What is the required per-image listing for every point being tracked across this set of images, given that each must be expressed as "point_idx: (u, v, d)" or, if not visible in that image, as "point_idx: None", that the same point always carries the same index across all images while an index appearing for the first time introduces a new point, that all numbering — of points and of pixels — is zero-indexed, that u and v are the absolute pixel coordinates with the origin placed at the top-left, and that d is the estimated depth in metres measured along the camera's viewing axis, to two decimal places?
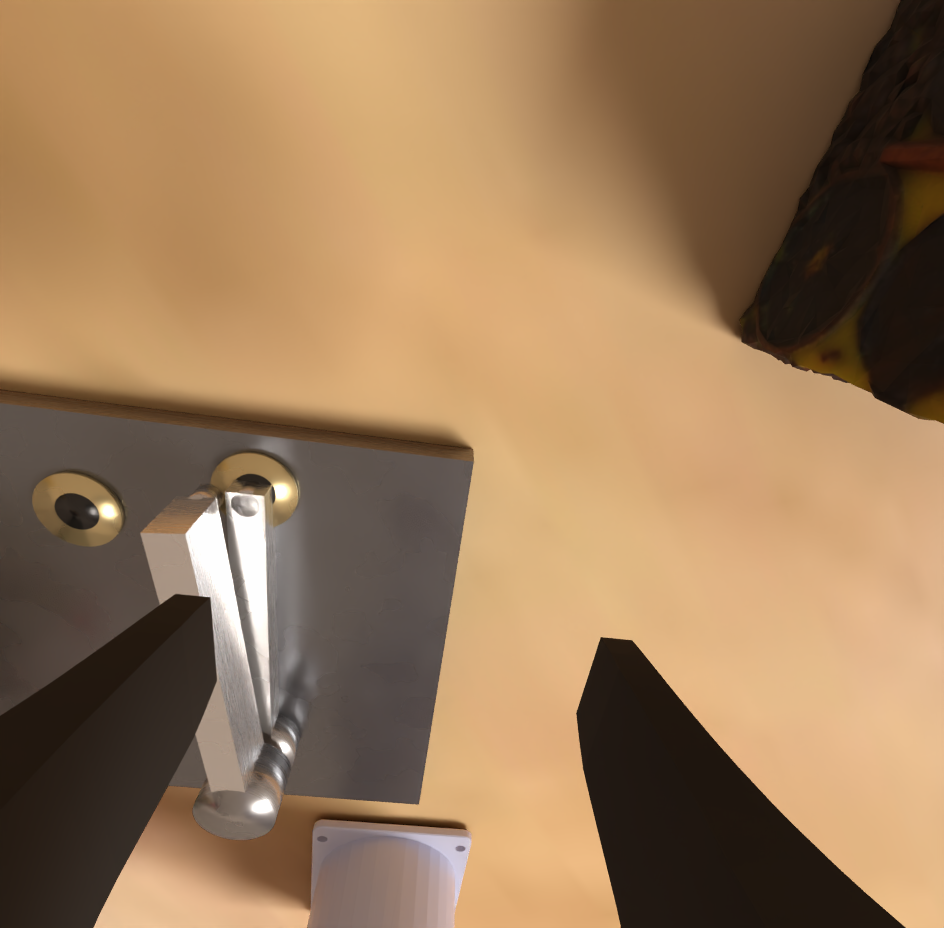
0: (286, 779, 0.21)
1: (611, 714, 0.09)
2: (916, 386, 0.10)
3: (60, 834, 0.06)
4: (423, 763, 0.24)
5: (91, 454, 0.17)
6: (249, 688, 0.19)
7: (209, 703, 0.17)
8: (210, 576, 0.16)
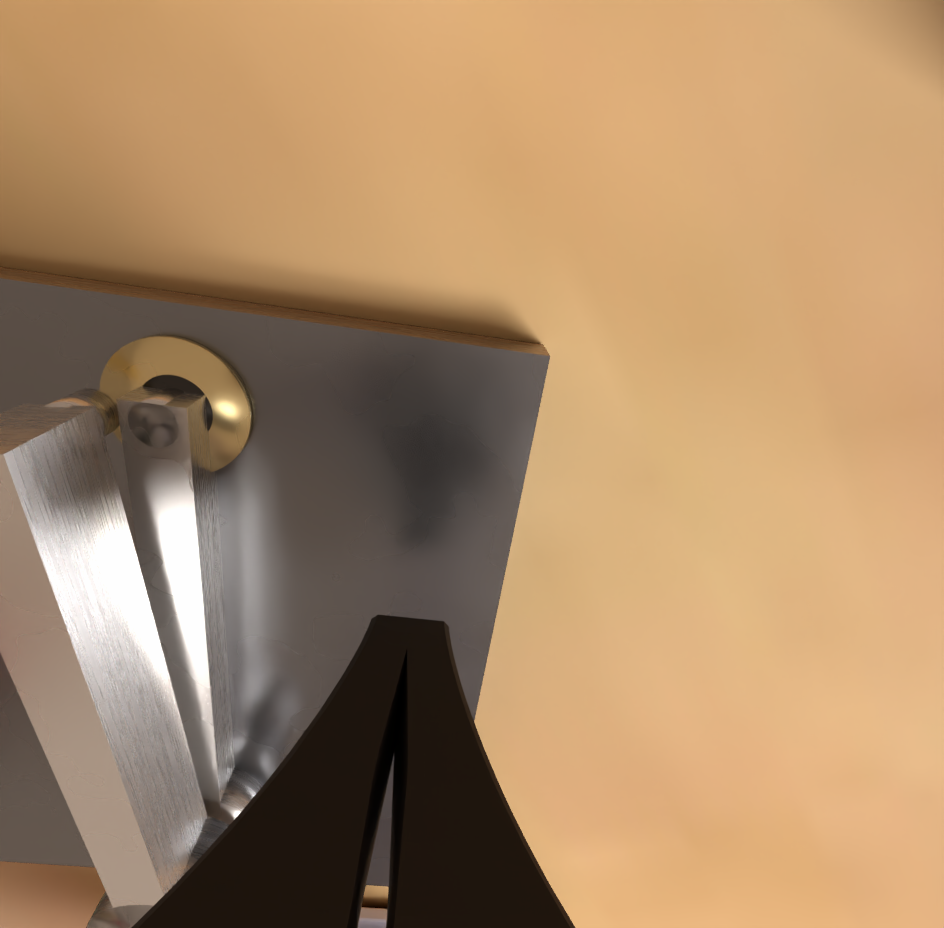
0: None
1: (402, 695, 0.09)
2: None
3: (363, 855, 0.06)
4: None
5: None
6: (178, 738, 0.12)
7: (92, 772, 0.10)
8: (81, 546, 0.09)
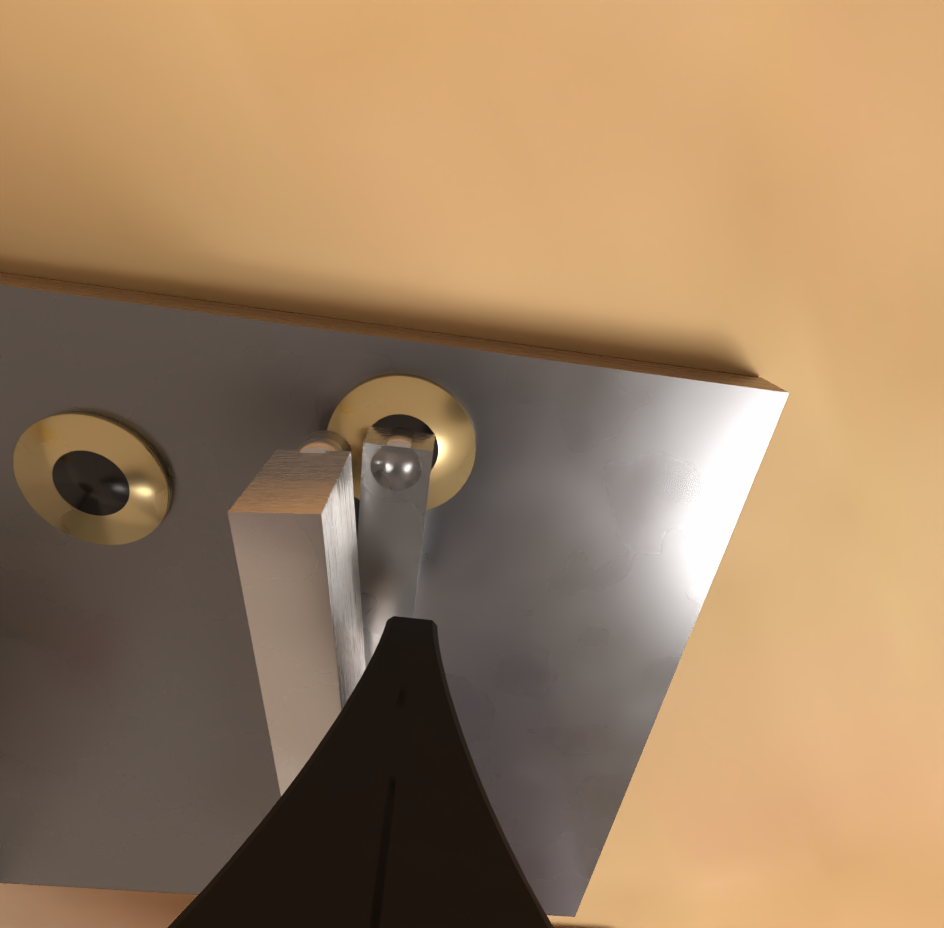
0: None
1: None
2: None
3: None
4: (593, 864, 0.16)
5: (118, 379, 0.10)
6: None
7: None
8: (344, 598, 0.08)
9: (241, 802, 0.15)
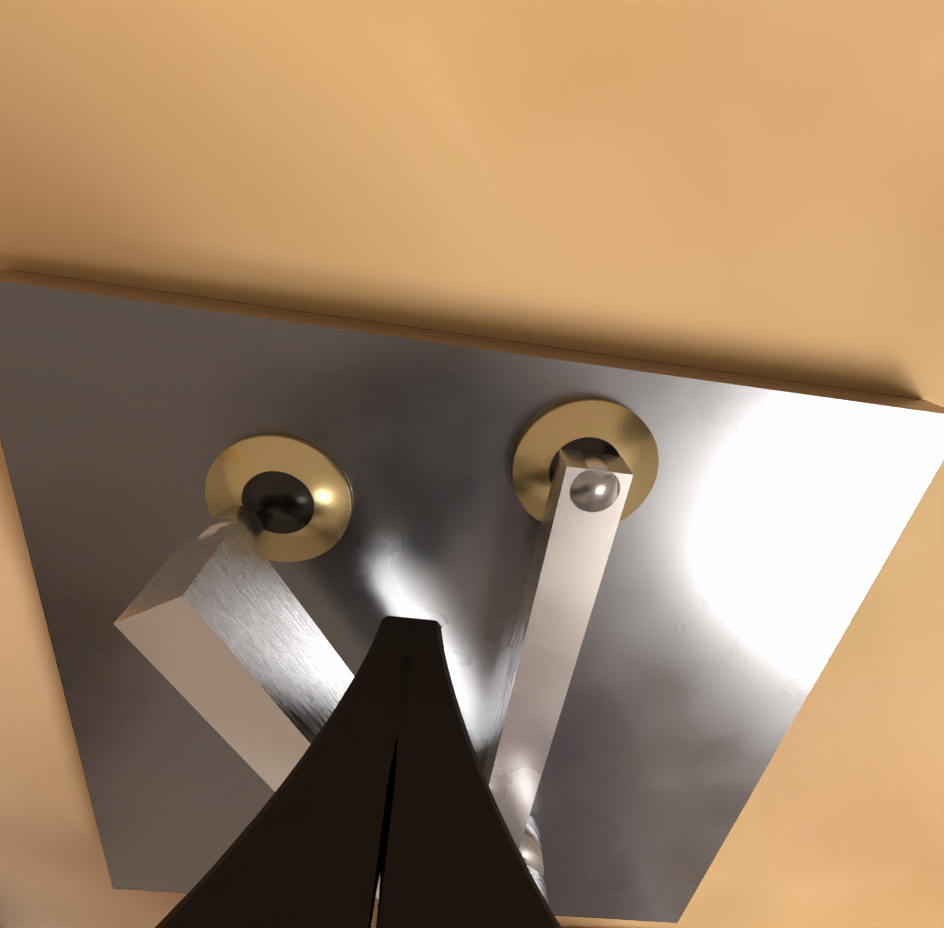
0: None
1: None
2: None
3: (378, 856, 0.06)
4: (703, 871, 0.16)
5: (317, 402, 0.10)
6: None
7: None
8: (280, 652, 0.09)
9: None
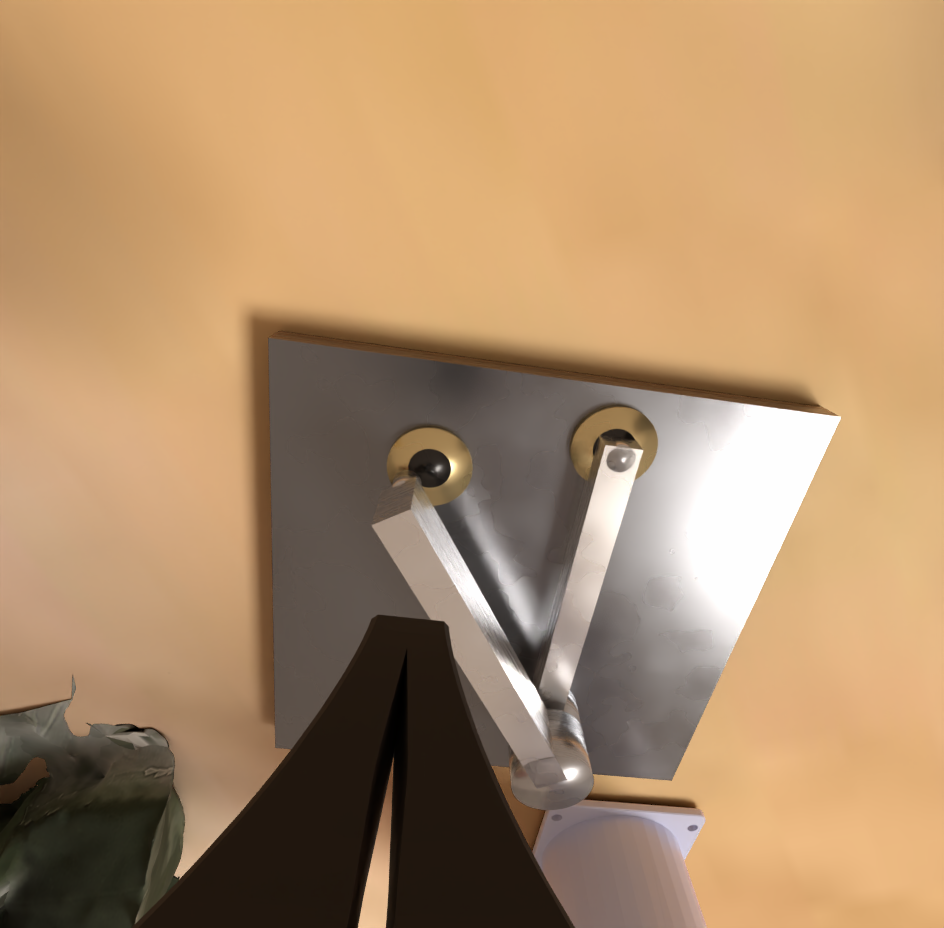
0: (583, 737, 0.20)
1: (402, 695, 0.09)
2: None
3: (363, 855, 0.06)
4: (689, 737, 0.23)
5: (458, 408, 0.17)
6: (515, 656, 0.19)
7: (490, 675, 0.17)
8: (443, 549, 0.16)
9: None
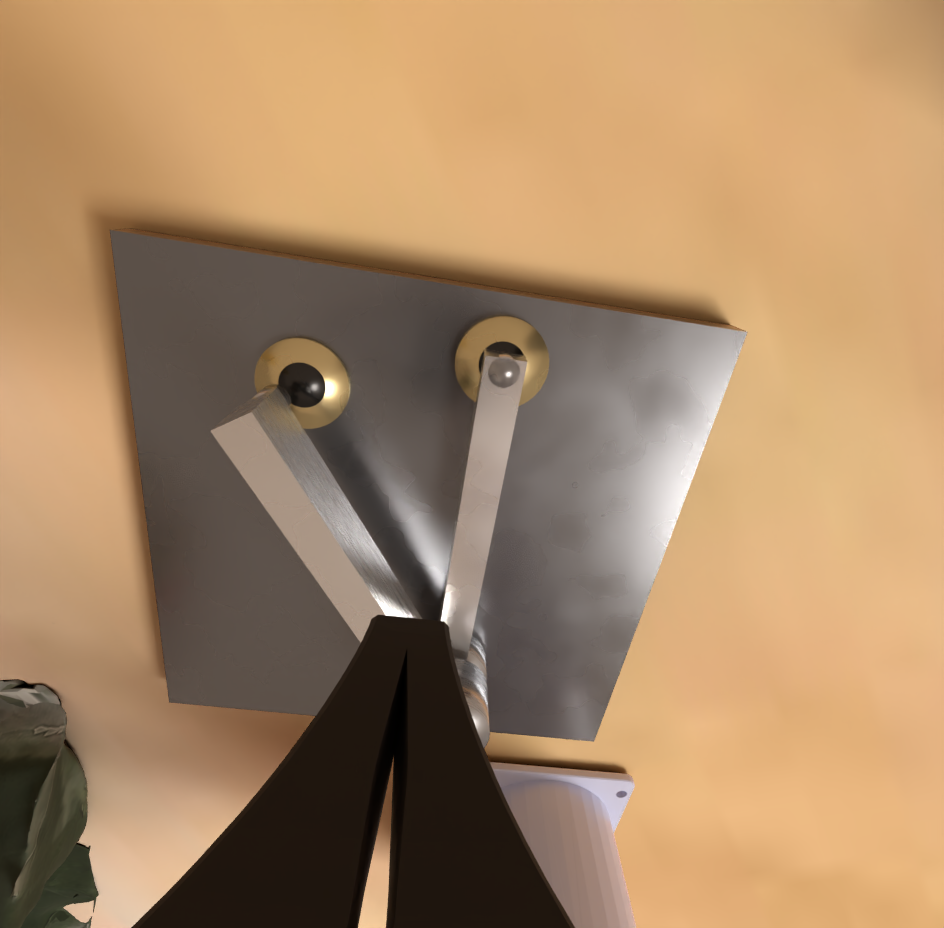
0: (484, 687, 0.19)
1: (402, 695, 0.09)
2: None
3: (363, 855, 0.06)
4: (609, 693, 0.22)
5: (328, 316, 0.15)
6: (404, 596, 0.18)
7: (363, 609, 0.16)
8: (303, 465, 0.14)
9: None
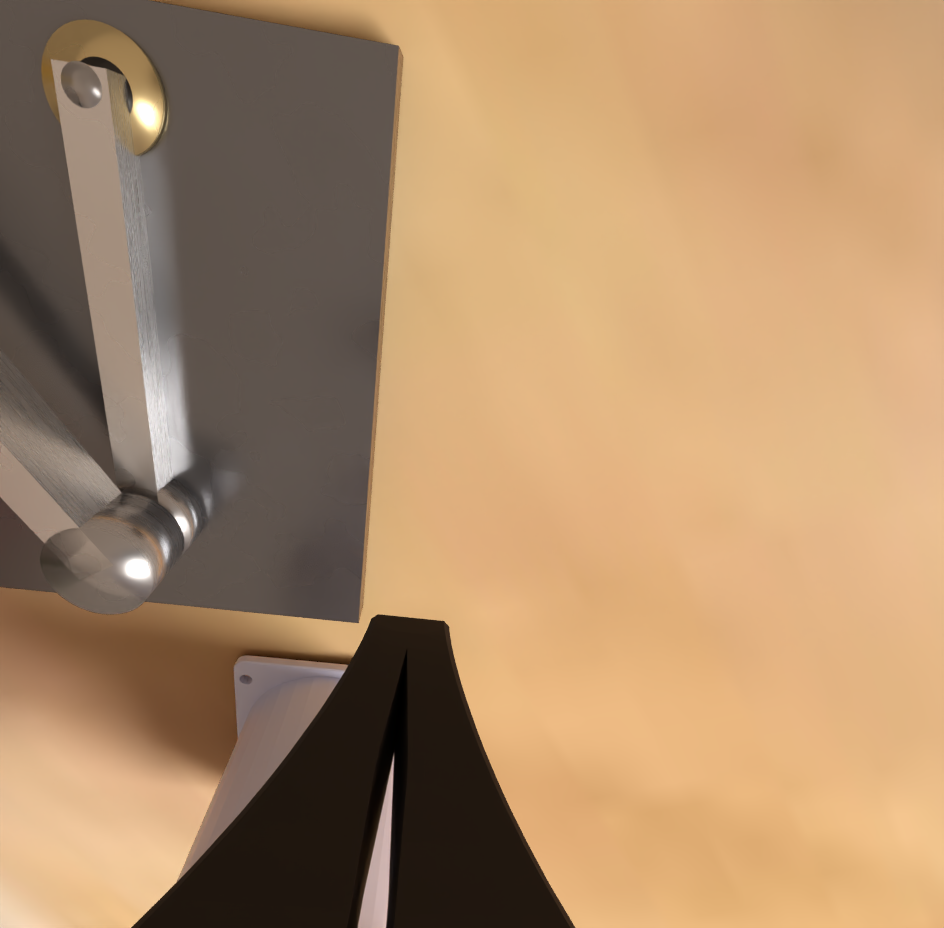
0: (165, 527, 0.16)
1: (402, 695, 0.09)
2: None
3: (363, 855, 0.06)
4: (360, 559, 0.19)
5: None
6: (38, 404, 0.15)
7: None
8: None
9: None
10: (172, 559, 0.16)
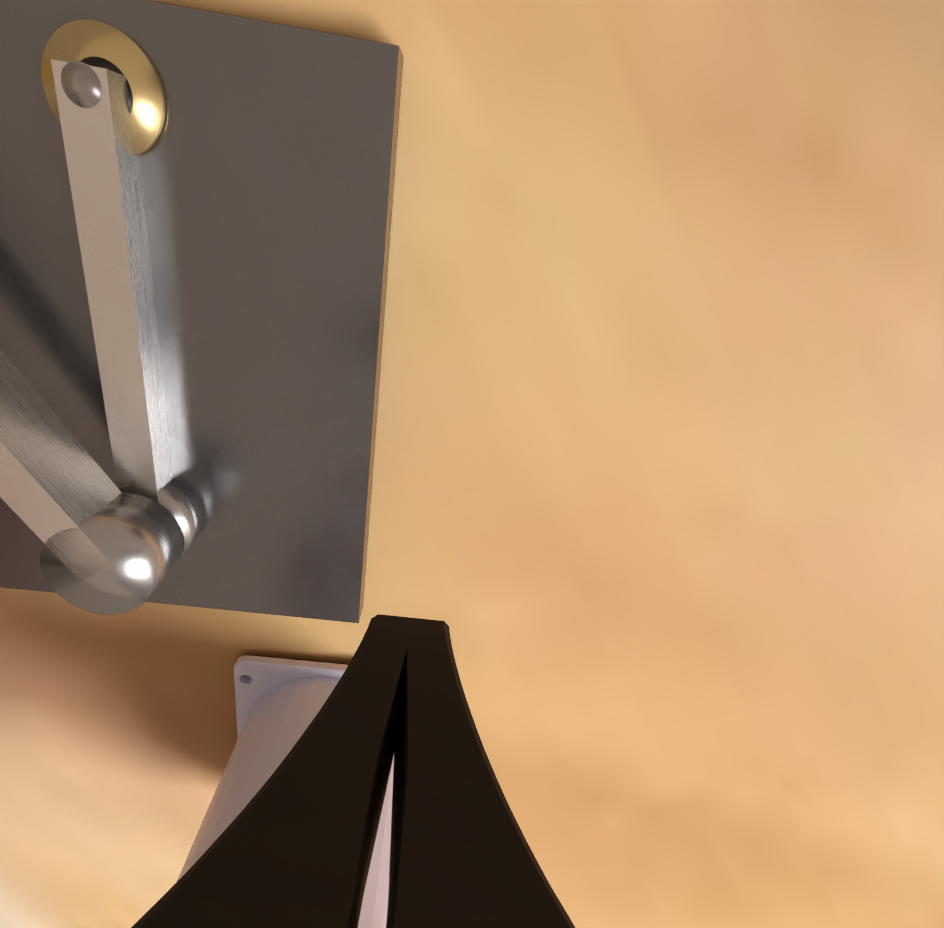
0: (165, 527, 0.16)
1: (402, 695, 0.09)
2: None
3: (363, 855, 0.06)
4: (360, 559, 0.19)
5: None
6: (38, 404, 0.15)
7: None
8: None
9: None
10: (172, 559, 0.16)
